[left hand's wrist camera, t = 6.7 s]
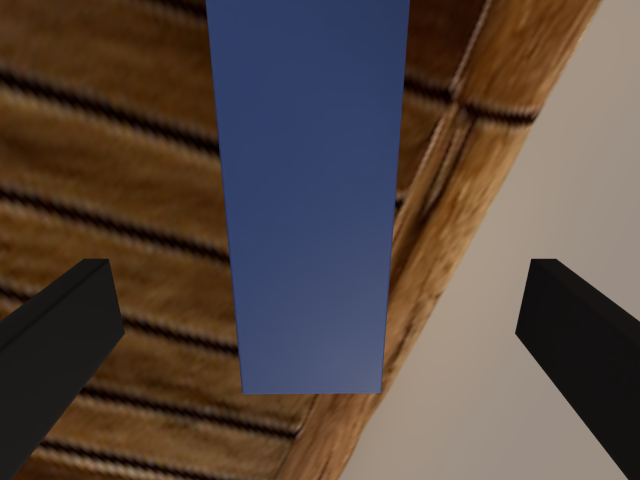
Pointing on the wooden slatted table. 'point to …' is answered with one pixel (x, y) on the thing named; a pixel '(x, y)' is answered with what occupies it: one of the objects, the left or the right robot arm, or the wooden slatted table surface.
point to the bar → (309, 184)
